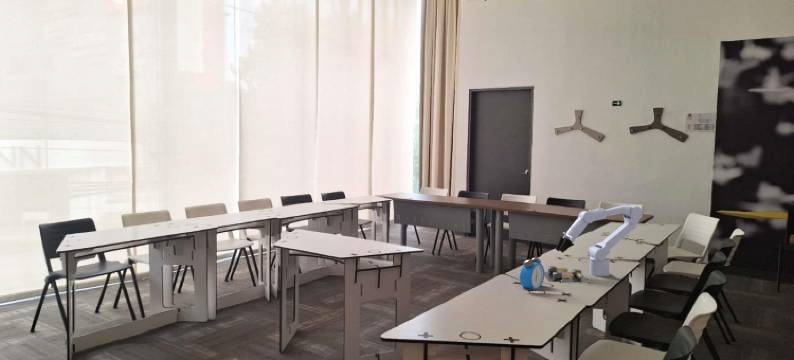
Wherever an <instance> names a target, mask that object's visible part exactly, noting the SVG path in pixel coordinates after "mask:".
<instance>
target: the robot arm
mask: <svg viewBox="0 0 794 360" xmlns="http://www.w3.org/2000/svg"><path fill="white" fill-rule="evenodd" d="M621 214H622V216H623V219H624V220H623V221H624V223H623V224H622V225H620V226H619V227H618V228H617V229H615V230H614V231H613V232H612V233H611V234H610V235H608V236H607V237H606V238H604V240H602V241H599V242H597V243H596V244H594V245H591V246H589V247H588V249H587V254H588V256H589V270H588V271H589V272H588V274H589V275H590V276H595V277H609V276H610V261H609V260H608V259H607V256H608V255H609V254H610V253H611V249H612V248H613V247H615V246H616V245H617V244H618V243H619V242H620V241H622V240H623V239H624V238H625V237H626V236H628V235H629V234H630V233H632V232H633V231H634V230H635V229H636V228H637V226H638V224H639V222H640V220H641V219H642V218H643V209H642V208H641V207H639V206H634V205H631V204H623V205H618V206H615V207H611V208H608V209H607V208H606V209H604V208H602V207H601V206H600V207H597V208H595V209H588V211H587V210H582V211H580V212H578V217H577V219H575V221H574V223H572V224H571V226H570V227H569V229H567V231H566V232H564V231H563V232H562V234H563V237H562V236H559V240H558V243H557V245H556V246H555V250H556V251H557V252H559V251H560V252H561V253H564V252H566V251H567V250H568V249H569V248H571V247H573V246H575V244H574V242H575V241H576V240H577V238H579V236H580V234H581V233H582V232H583V231H584V230H585V228H586V227H587V226H588V225H589V224H592V223H594V222H596V221H600V220H605V219H606V218H607V216H613V215H621Z"/></svg>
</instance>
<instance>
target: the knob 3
mask: <svg viewBox="0 0 794 360" xmlns="http://www.w3.org/2000/svg"><path fill="white" fill-rule="evenodd" d="M571 271H572V274H573V277H575V278H582V275H583V274H582V270H581V269H572V270H571ZM581 274H582V275H581Z"/></svg>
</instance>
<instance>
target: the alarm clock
mask: <svg viewBox="0 0 794 360" xmlns="http://www.w3.org/2000/svg"><path fill="white" fill-rule="evenodd" d="M522 264H523V265H522V267H521V269H520V275H519V280H520V285H521V286H522V287H523V288H525V289H530V290H531V292H533V291H534V290H537V289H538V288H541V287H542V285H543V283H544V279H545V276H544V272H545V269H544V265H543V264H542V260H541V259H540V258H538V257H537V256H536V257H532V258H531V259H525V260H524V261H523V263H522Z"/></svg>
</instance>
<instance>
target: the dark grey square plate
mask: <svg viewBox="0 0 794 360" xmlns="http://www.w3.org/2000/svg"><path fill="white" fill-rule="evenodd" d="M561 273H562V274H572V272H571V271H570V272H569V271H567V272H561ZM581 275H582V278H575V277H572V278H562V280H553V274H549V273H548V271H544V278H545V279H546V281H548V282H549V283H581V284H582V283H585V284H586V283H587V284H588V283H589V284H590V281H589V280H588V279H587V278H586V276H584V275H583V274H582V273H581Z"/></svg>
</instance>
